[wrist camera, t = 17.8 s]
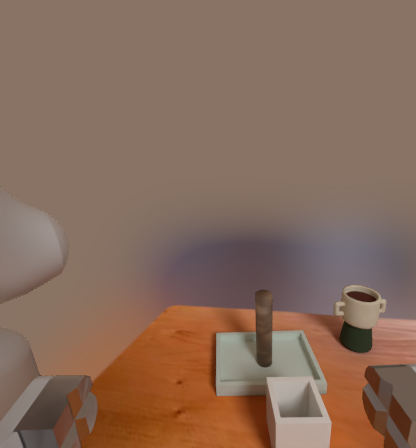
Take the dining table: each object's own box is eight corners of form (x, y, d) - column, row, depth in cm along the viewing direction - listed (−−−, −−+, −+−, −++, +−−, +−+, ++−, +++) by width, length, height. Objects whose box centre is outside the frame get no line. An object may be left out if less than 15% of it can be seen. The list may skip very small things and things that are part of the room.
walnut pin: (257, 367, 53) (256, 299, 48) (255, 355, 56) (254, 290, 52) (273, 367, 53) (274, 298, 48) (270, 355, 56) (270, 289, 51)
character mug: (370, 331, 62) (376, 283, 58) (390, 355, 55) (399, 301, 51) (323, 334, 62) (327, 286, 58) (338, 358, 55) (343, 304, 51)
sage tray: (216, 395, 49) (216, 385, 48) (217, 341, 62) (216, 332, 61) (326, 394, 48) (327, 383, 47) (302, 339, 61) (302, 330, 60)
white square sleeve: (275, 470, 37) (275, 423, 35) (266, 419, 44) (266, 377, 41) (327, 469, 37) (331, 423, 34) (309, 418, 44) (312, 376, 41)
